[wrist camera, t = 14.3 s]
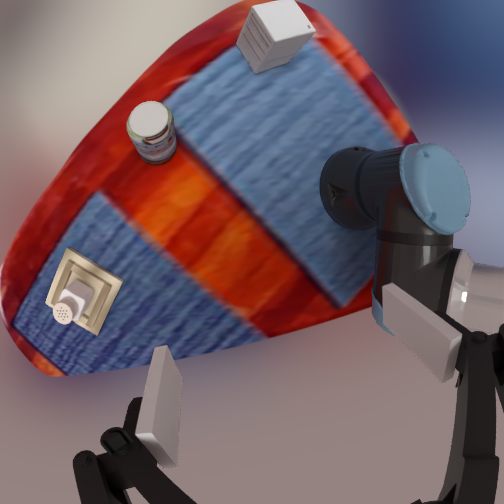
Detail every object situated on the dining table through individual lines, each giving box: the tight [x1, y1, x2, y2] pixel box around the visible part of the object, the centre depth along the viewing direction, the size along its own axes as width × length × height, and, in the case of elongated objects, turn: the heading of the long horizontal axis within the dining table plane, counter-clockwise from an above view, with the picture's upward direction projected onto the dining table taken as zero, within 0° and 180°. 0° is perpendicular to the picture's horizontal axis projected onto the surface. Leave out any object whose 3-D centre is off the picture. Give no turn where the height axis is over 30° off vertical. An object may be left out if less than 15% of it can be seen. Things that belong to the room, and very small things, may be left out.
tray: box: [45, 247, 124, 335], centre depth 43 cm, size 11×11×2 cm
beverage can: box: [127, 101, 177, 165], centre depth 37 cm, size 6×7×12 cm
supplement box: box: [236, 0, 316, 74], centre depth 38 cm, size 7×7×13 cm
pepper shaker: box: [53, 280, 94, 324], centre depth 38 cm, size 4×4×10 cm
